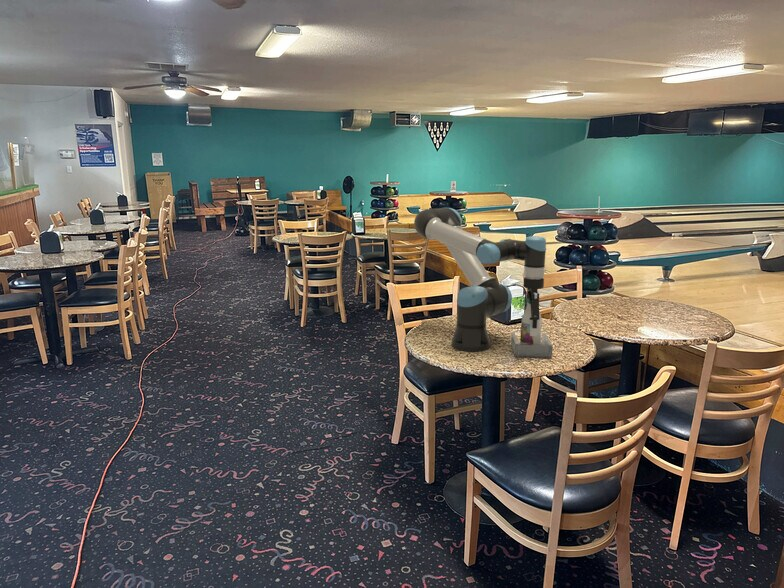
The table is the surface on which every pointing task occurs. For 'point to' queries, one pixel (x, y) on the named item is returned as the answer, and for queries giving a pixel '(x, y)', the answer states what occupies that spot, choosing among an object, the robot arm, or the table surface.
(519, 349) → the coupler bracket
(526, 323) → the milk bottle
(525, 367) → the table surface
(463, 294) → the robot arm
